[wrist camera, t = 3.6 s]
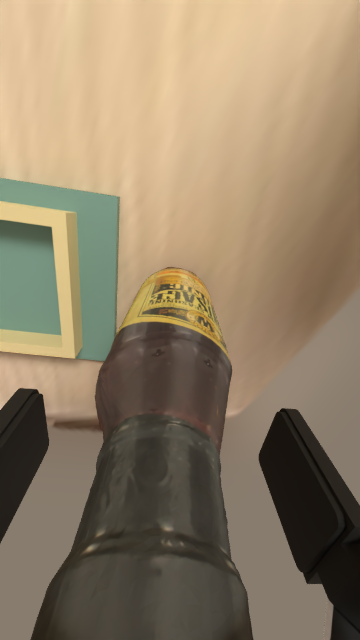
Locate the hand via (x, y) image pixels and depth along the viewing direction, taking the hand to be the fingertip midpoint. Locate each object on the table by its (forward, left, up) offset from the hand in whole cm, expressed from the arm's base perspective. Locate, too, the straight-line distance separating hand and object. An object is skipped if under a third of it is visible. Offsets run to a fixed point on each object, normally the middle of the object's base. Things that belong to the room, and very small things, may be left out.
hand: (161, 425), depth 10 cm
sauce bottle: (0, -1, -14) cm, 14 cm away
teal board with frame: (+13, -1, -14) cm, 19 cm away
